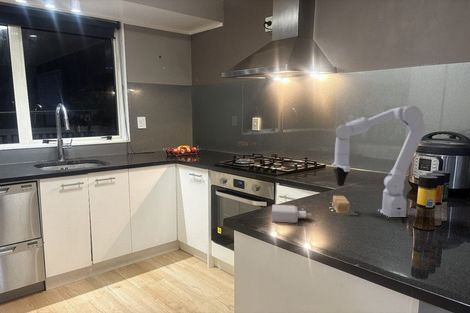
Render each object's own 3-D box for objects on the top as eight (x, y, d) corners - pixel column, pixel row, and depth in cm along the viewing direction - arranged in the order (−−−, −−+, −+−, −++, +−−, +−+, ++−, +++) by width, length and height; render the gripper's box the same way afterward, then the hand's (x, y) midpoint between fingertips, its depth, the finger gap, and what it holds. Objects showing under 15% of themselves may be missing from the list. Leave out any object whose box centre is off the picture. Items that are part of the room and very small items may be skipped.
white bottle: (312, 224, 121) (271, 222, 123) (310, 217, 130) (272, 215, 132) (312, 212, 120) (271, 210, 122) (310, 205, 129) (272, 203, 131)
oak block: (342, 205, 140) (348, 212, 133) (332, 205, 139) (337, 213, 133) (343, 195, 138) (349, 202, 132) (333, 195, 138) (338, 202, 131)
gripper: (327, 151, 143) (326, 181, 145) (338, 156, 129) (336, 189, 131) (343, 151, 143) (341, 181, 145) (355, 156, 129) (354, 189, 131)
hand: (340, 185), depth 138 cm, fingers closed
